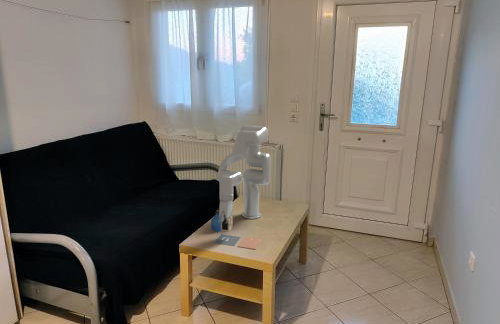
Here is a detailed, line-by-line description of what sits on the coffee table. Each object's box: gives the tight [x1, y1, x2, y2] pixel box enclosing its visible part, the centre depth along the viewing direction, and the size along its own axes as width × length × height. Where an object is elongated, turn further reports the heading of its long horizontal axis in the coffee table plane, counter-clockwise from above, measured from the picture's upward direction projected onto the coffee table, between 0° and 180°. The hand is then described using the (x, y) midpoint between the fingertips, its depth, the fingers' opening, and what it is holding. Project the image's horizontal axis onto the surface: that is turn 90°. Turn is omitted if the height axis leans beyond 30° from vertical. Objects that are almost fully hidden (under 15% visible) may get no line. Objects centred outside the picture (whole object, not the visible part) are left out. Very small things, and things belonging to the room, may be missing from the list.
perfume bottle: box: [210, 209, 222, 233], centre depth 212 cm, size 6×6×12 cm
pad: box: [237, 236, 262, 251], centre depth 195 cm, size 12×10×1 cm
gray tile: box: [213, 233, 241, 247], centre depth 199 cm, size 12×12×1 cm
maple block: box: [220, 215, 234, 233], centre depth 199 cm, size 5×5×7 cm
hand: (226, 227), depth 199 cm, fingers closed on maple block, 4 cm apart
